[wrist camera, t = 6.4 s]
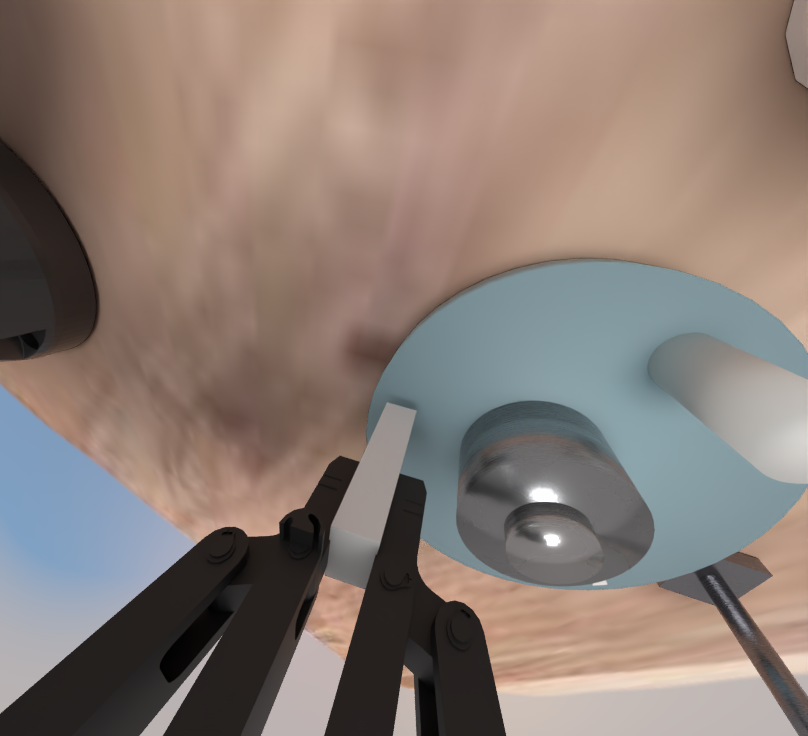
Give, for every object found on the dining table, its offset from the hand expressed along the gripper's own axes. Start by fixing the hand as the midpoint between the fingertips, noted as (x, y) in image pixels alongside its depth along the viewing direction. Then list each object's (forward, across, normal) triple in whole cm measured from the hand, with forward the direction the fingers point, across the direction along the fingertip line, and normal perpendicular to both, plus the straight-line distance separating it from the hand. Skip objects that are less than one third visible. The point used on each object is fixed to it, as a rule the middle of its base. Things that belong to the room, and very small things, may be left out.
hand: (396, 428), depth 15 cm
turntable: (+4, +8, 0) cm, 9 cm away
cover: (+1, +7, 0) cm, 7 cm away
